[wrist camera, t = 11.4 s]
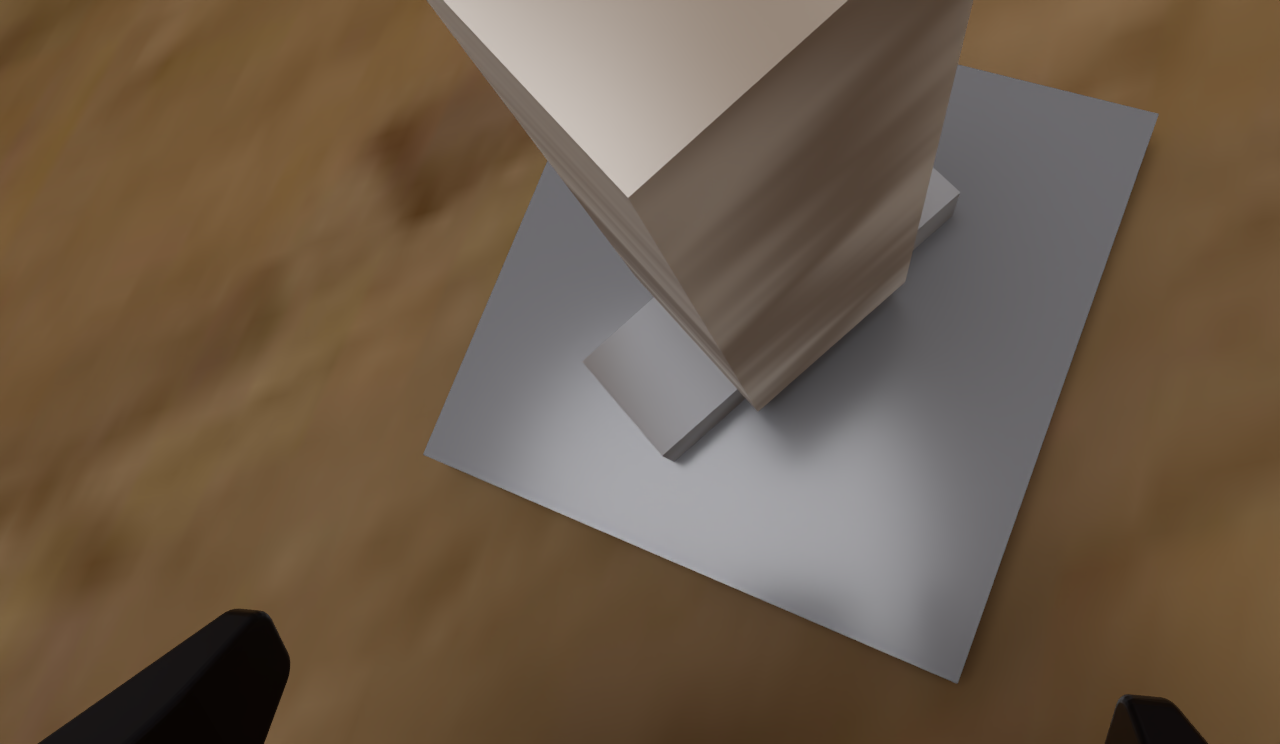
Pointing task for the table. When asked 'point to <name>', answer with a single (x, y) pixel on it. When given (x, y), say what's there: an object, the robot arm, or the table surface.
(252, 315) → the table surface
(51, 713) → the table surface
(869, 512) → the slate plate
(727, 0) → the upright block on base
